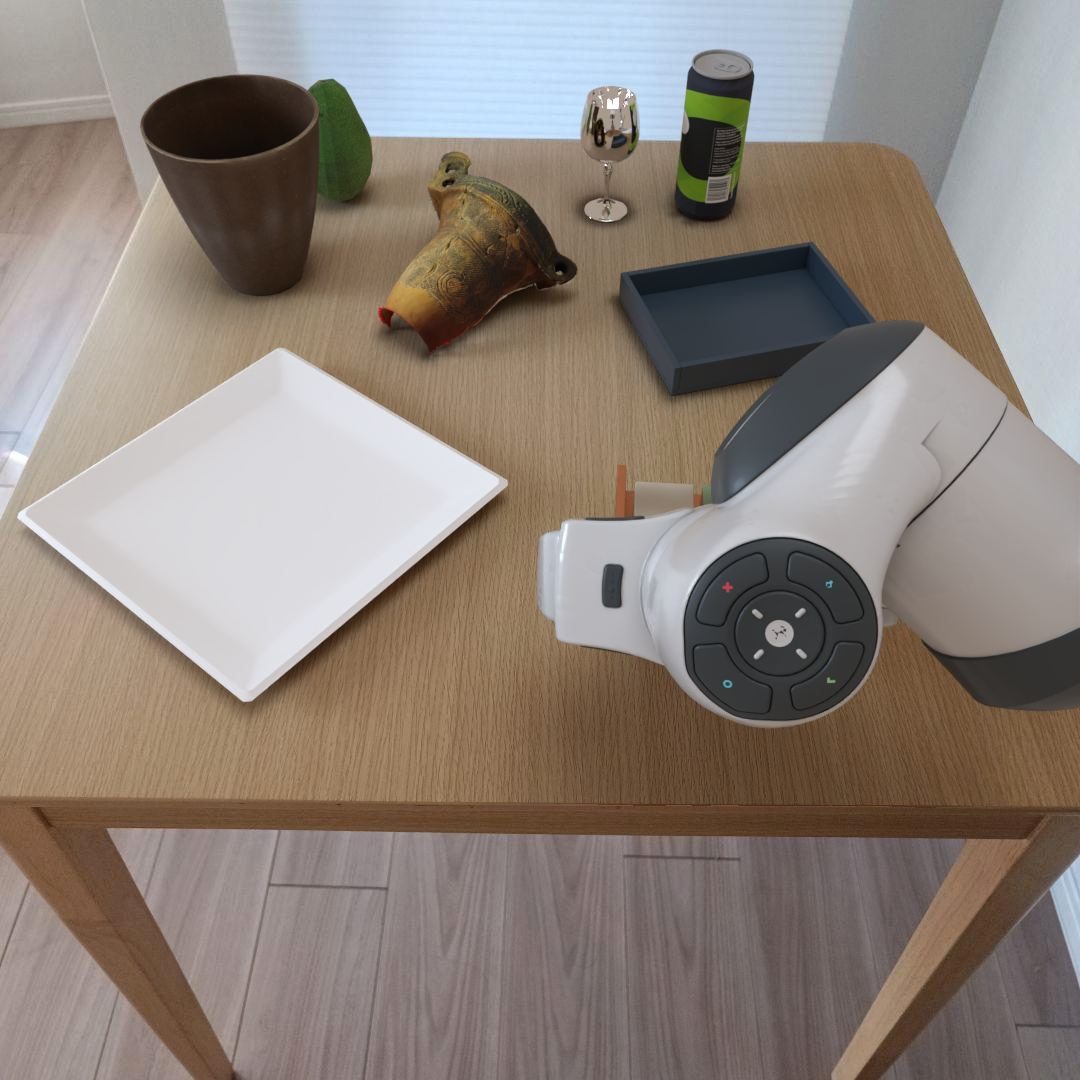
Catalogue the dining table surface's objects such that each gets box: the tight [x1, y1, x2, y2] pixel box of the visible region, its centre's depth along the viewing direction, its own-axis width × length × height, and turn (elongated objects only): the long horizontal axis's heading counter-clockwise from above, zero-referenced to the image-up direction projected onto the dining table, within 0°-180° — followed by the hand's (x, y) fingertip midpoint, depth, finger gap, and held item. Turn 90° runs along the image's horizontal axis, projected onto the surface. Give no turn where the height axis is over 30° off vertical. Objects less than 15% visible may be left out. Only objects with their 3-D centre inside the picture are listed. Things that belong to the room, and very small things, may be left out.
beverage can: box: [674, 48, 755, 221], centre depth 108 cm, size 6×6×15 cm
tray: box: [618, 241, 877, 396], centre depth 99 cm, size 19×14×3 cm
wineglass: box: [579, 85, 641, 223], centre depth 108 cm, size 6×6×12 cm
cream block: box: [632, 481, 695, 517], centre depth 75 cm, size 4×4×4 cm
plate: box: [16, 347, 509, 703], centre depth 83 cm, size 26×26×2 cm
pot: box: [377, 151, 579, 355], centre depth 99 cm, size 17×11×18 cm
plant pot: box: [139, 73, 319, 296], centre depth 99 cm, size 15×15×16 cm
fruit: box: [307, 78, 374, 203], centre depth 110 cm, size 8×8×12 cm
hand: (702, 568), depth 69 cm, fingers closed on pan, 3 cm apart
